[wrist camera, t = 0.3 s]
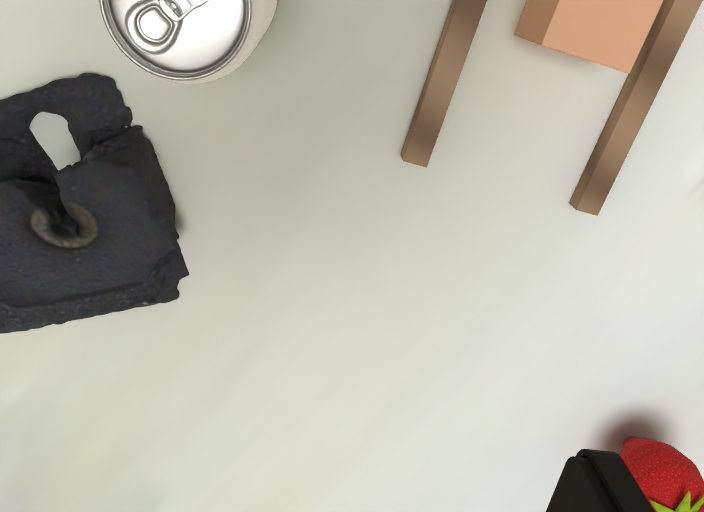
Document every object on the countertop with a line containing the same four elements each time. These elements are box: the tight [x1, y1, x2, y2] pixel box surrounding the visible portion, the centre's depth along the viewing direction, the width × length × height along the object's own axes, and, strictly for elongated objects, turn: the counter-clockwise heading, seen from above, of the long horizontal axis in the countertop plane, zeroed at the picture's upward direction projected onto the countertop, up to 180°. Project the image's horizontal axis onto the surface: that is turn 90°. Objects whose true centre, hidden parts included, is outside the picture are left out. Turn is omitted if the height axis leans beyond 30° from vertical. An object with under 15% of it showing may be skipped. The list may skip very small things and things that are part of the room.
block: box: [514, 0, 663, 74], centre depth 34 cm, size 5×5×5 cm
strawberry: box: [620, 437, 704, 512], centre depth 45 cm, size 6×8×10 cm
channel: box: [401, 0, 703, 216], centre depth 36 cm, size 20×13×1 cm, turn 163°
